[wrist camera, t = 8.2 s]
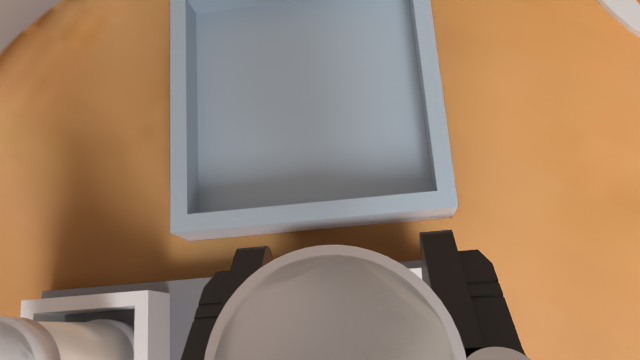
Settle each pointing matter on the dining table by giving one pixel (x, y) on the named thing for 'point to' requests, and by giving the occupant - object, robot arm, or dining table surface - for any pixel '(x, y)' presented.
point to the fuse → (65, 340)
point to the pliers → (624, 13)
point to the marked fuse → (334, 311)
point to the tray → (305, 116)
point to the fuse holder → (136, 310)
